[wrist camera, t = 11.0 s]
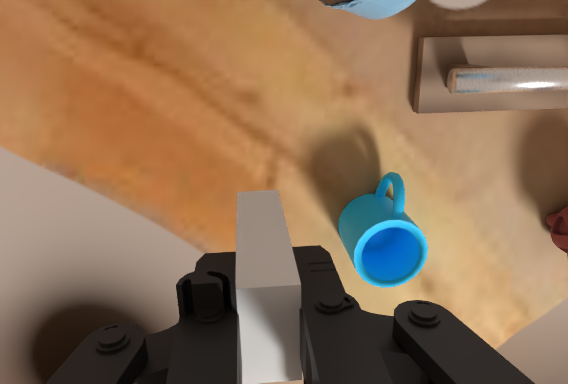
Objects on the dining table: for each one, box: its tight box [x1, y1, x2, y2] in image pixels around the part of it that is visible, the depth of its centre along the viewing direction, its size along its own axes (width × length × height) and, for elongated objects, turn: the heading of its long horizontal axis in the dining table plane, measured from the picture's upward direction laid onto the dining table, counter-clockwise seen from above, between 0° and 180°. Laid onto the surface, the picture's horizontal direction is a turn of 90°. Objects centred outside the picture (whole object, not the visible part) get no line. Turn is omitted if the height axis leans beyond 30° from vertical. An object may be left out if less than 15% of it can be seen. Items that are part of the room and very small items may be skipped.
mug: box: [338, 172, 428, 287], centre depth 51 cm, size 12×8×8 cm
